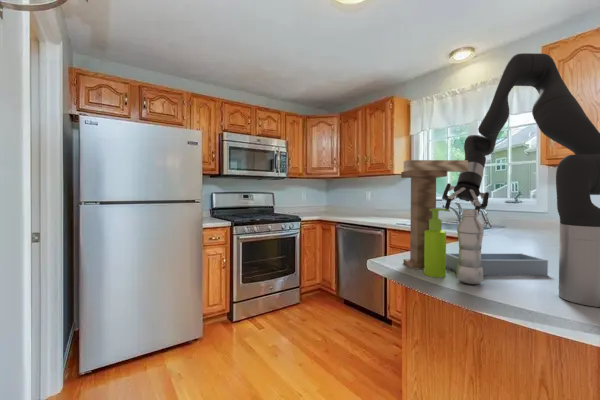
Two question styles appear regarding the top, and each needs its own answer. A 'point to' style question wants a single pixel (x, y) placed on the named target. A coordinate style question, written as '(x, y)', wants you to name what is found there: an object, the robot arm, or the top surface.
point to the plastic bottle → (470, 248)
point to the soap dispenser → (435, 247)
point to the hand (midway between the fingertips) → (460, 212)
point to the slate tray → (505, 264)
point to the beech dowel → (437, 165)
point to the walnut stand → (421, 211)
